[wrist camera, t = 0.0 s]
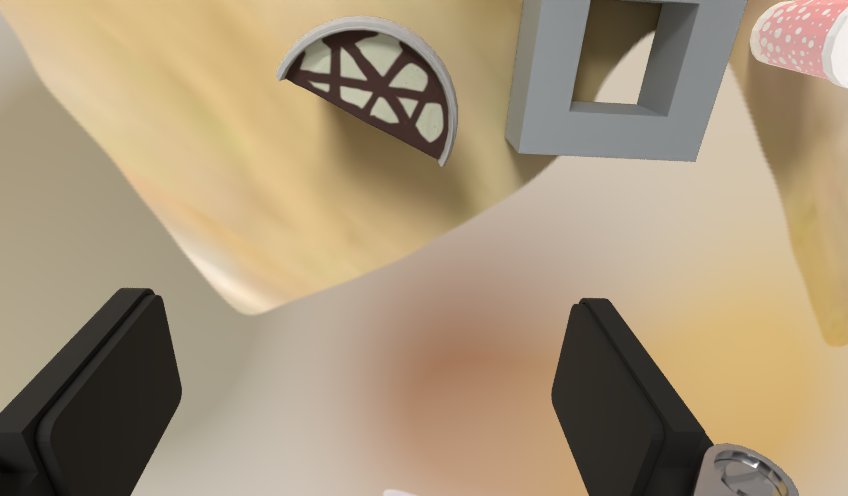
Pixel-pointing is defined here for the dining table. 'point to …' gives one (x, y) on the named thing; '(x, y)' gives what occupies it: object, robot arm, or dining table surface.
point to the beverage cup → (805, 38)
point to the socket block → (611, 122)
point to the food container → (379, 79)
